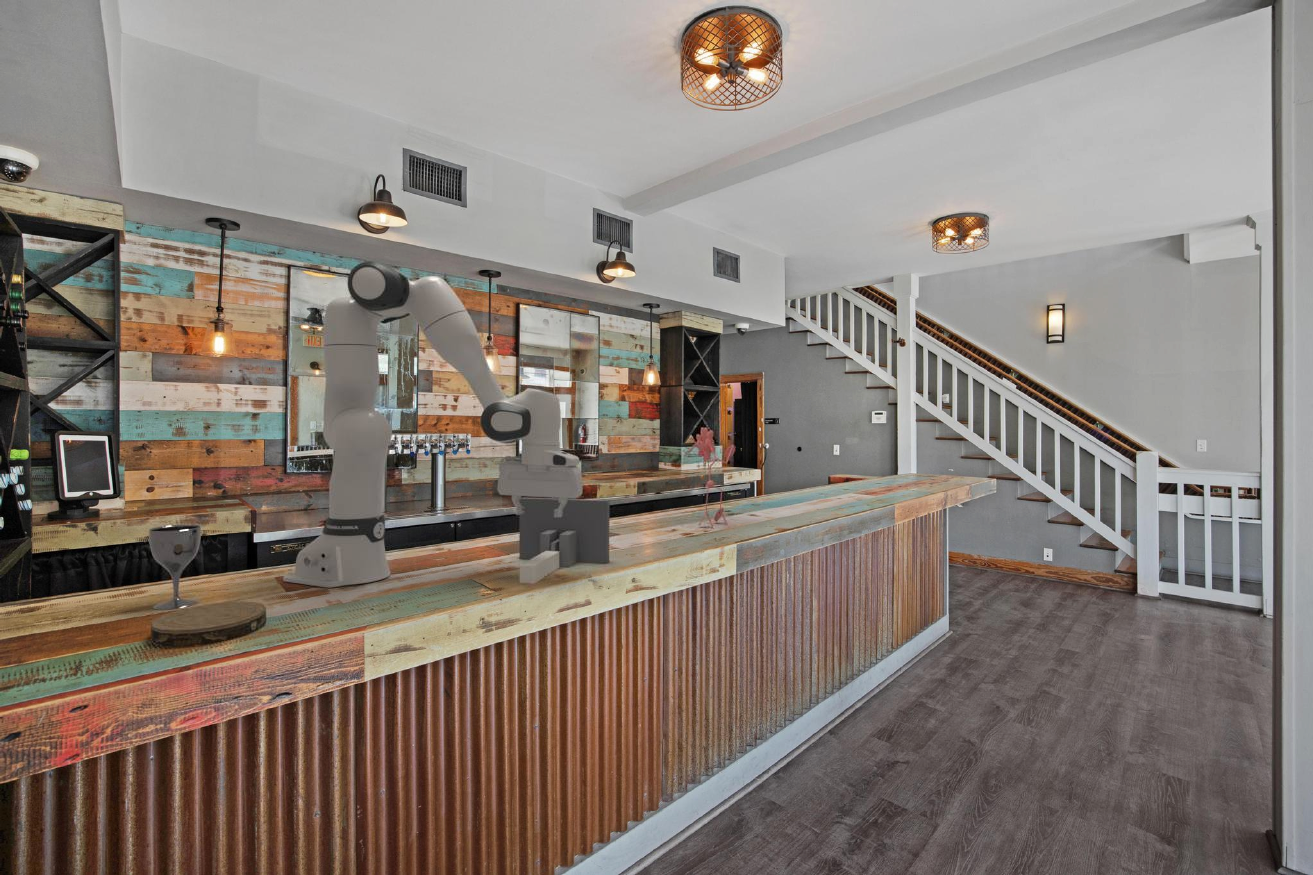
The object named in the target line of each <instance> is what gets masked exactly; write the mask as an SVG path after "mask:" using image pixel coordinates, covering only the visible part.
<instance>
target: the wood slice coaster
mask: <svg viewBox="0 0 1313 875" xmlns="http://www.w3.org/2000/svg"><path fill="white" fill-rule="evenodd" d="M266 623H267V606H266V605H264V604H263V603H260V602H255V601H242V600H241V601H224V602H215V603H207V604H202V605H196V606H195V605H193V606H189V607H184V608H180V609H178V610H177V609H176V610H175V611H174V610H173V611H171V612H168V613H165V614H163V615H160V616H158V617H157V618H154V620H152V622H150V640H151V639H152V640H151V642H152V641H153V642H152V644H153V643H155V644H154V645H156V644H158V645H157V646H159V645H161V646H160V647H164V646H165V647H166V648H167V647H168V648H187V646H192V647H196V646H195V645H200V646H209V645H214V644H219V643H223V642H229V641H233V640H235V639H239V638H243V637H246V636H249V635H250V634H254V633H256V632H258V631H260V630H261V629H262V628H264V627H265V626H266ZM259 629H260V630H259ZM206 644H207V645H206Z"/></svg>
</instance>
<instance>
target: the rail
mask: <svg viewBox="0 0 1313 875" xmlns="http://www.w3.org/2000/svg"><path fill="white" fill-rule="evenodd" d="M559 568H560V567H559V539H558V540H556V541H554V542H552V543H551V551H545V552H543V553H541V554H539V555H537V556H536V557H534V558H532V559H527V561H525V562H523V563H521V564H519V584H532V585H533V584H534V585H535V584H536V583H538V582H539V581H541V580H542V579H544V578H545V576H546V577H548V576H549V575H551V574H552V573H553V572H555V571H556V570H558V569H559ZM548 574H549V575H548Z"/></svg>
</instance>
